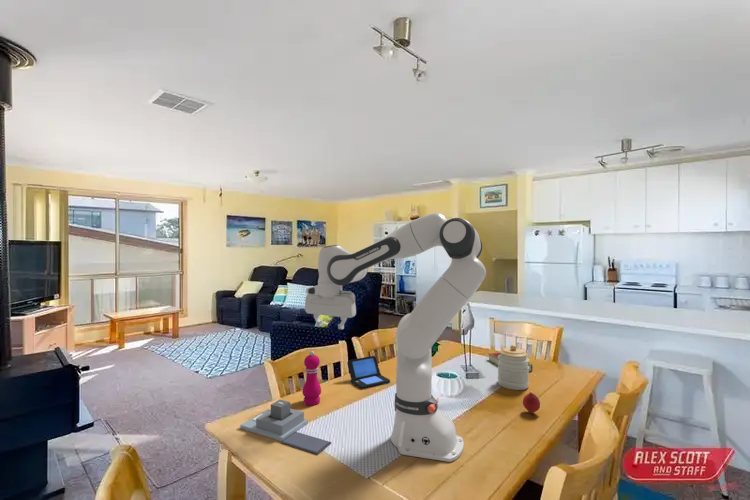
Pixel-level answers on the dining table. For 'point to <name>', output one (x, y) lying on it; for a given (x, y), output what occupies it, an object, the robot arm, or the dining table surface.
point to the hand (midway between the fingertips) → (330, 327)
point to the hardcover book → (494, 359)
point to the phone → (306, 443)
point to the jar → (513, 368)
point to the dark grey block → (280, 410)
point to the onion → (531, 402)
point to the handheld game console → (366, 372)
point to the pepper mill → (311, 380)
